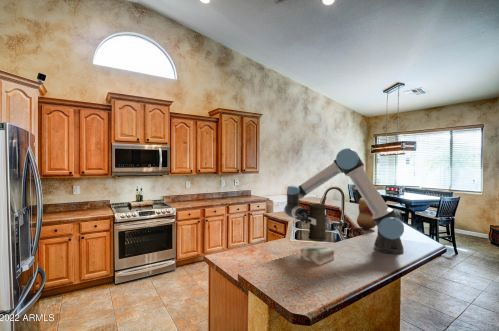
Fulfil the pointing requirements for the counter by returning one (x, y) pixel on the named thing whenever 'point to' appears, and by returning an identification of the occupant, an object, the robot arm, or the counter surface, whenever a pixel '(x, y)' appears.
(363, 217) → the butternut squash
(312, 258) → the stand
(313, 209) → the container
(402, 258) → the counter surface
